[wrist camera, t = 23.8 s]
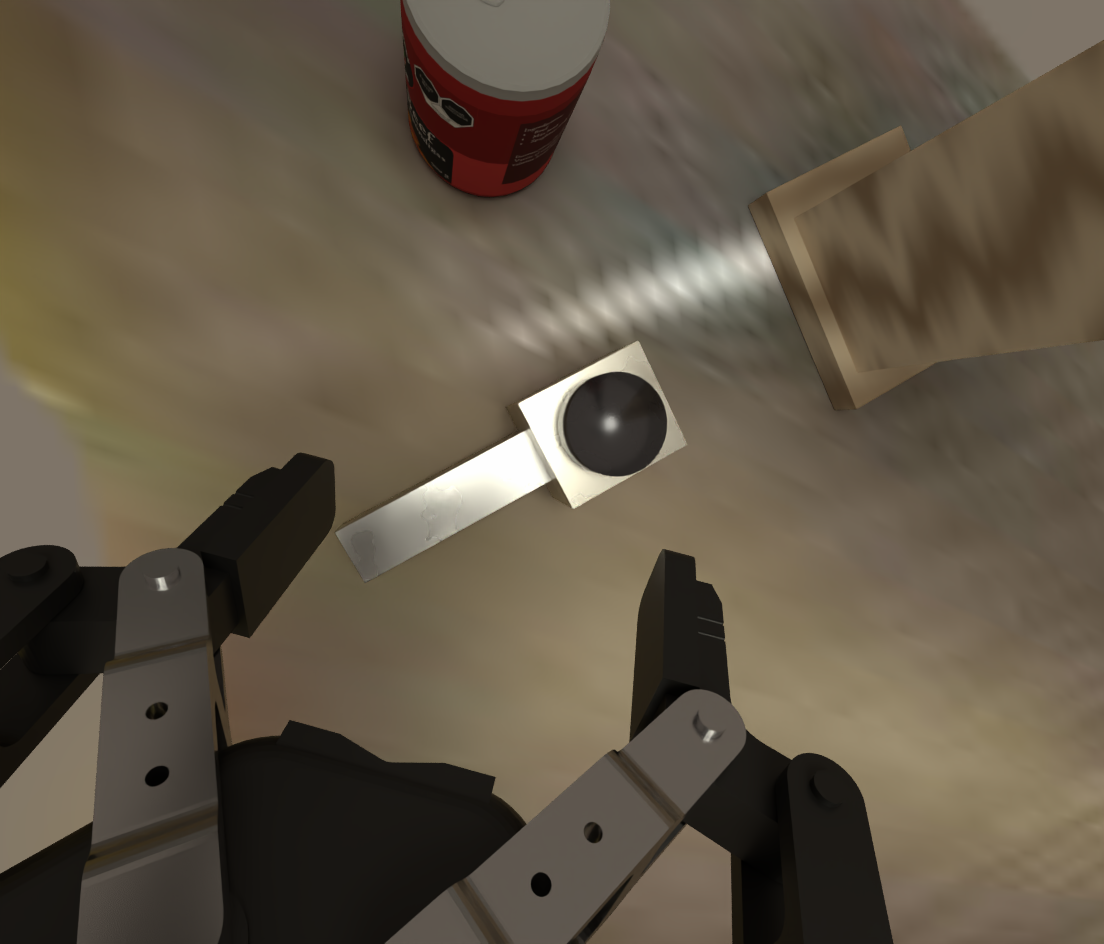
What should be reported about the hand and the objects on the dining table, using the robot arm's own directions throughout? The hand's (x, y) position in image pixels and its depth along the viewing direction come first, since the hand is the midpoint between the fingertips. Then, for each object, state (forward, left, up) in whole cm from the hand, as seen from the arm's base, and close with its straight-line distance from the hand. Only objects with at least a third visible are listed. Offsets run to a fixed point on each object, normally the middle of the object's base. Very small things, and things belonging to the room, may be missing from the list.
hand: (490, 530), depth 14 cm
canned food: (-16, +10, -20) cm, 28 cm away
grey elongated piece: (+1, +2, -20) cm, 20 cm away
